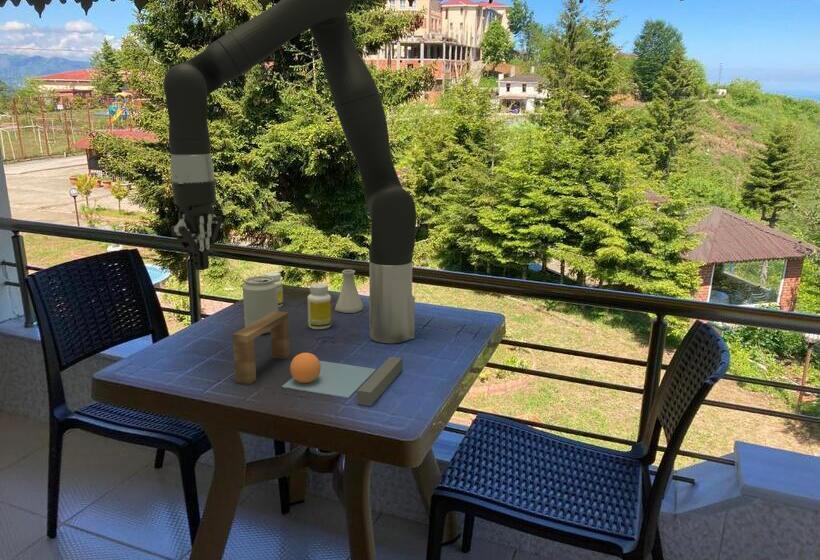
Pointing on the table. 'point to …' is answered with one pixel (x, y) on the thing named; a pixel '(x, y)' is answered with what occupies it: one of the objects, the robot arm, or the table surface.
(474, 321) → the table surface
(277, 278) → the supplement bottle
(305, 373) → the ball
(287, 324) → the bridge
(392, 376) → the bar
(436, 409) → the table surface
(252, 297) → the can
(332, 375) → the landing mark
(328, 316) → the supplement bottle
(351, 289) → the flask
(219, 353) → the table surface
